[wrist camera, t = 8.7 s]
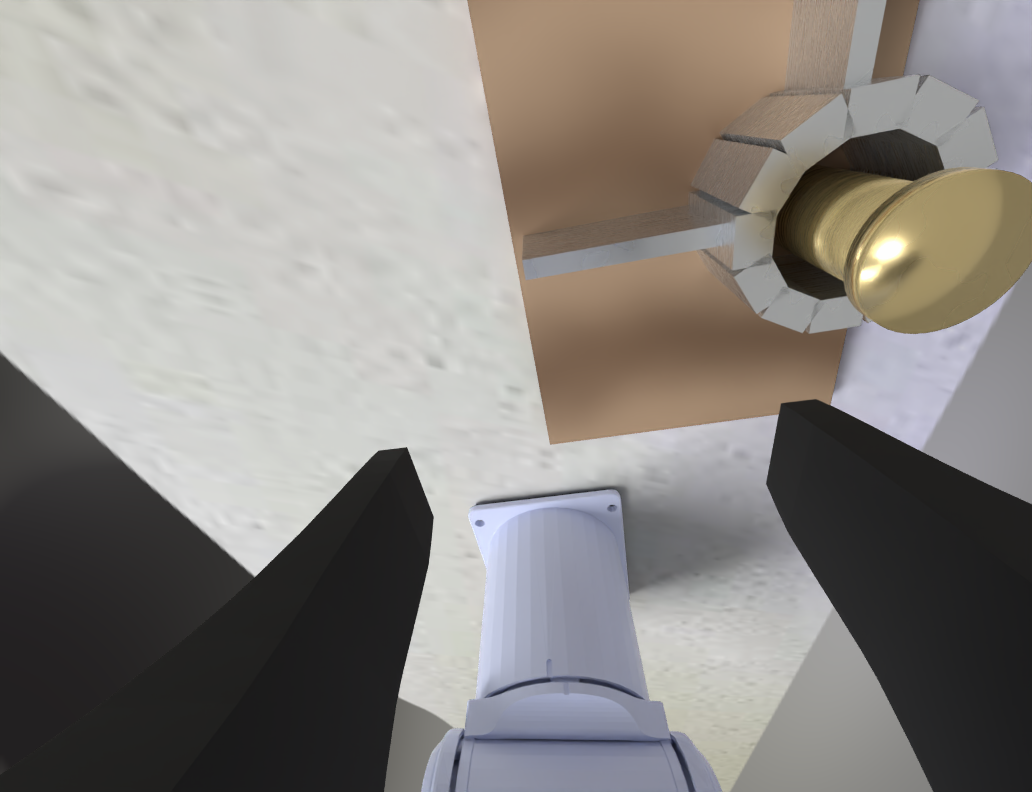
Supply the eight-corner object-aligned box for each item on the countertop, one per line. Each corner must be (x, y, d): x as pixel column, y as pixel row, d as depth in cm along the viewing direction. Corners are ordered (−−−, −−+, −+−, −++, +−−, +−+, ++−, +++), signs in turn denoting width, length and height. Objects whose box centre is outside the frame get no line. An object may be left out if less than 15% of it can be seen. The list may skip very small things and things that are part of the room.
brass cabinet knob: (828, 243, 16) (1007, 322, 10) (731, 258, 16) (845, 343, 10) (847, 137, 14) (1078, 154, 8) (738, 157, 14) (881, 187, 8)
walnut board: (817, 394, 20) (829, 407, 19) (549, 431, 21) (550, 444, 21) (973, -391, 10) (1016, -439, 9) (429, -220, 11) (421, -246, 10)
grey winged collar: (859, 269, 16) (948, 312, 13) (538, 322, 17) (540, 374, 14) (973, -244, 10) (1199, -422, 7) (464, -101, 11) (437, -189, 8)
